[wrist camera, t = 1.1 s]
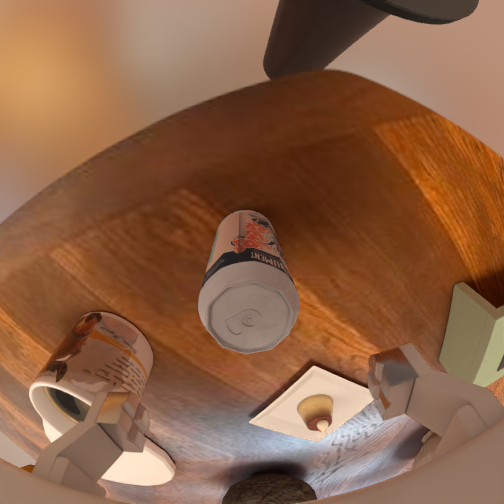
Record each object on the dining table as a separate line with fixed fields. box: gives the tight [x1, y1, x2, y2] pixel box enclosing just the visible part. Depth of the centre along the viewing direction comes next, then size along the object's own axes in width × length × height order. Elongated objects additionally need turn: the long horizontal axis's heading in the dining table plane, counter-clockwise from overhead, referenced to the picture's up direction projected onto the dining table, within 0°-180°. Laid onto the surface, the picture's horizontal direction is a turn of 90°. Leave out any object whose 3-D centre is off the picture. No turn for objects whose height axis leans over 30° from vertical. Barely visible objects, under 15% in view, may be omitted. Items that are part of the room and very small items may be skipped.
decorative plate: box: [43, 419, 176, 486], centre depth 34 cm, size 25×4×25 cm
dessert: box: [249, 366, 374, 442], centre depth 29 cm, size 12×12×5 cm
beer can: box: [198, 210, 300, 354], centre depth 18 cm, size 5×5×12 cm
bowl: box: [411, 430, 443, 470], centre depth 34 cm, size 19×19×10 cm
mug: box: [29, 312, 154, 435], centre depth 22 cm, size 10×12×11 cm
